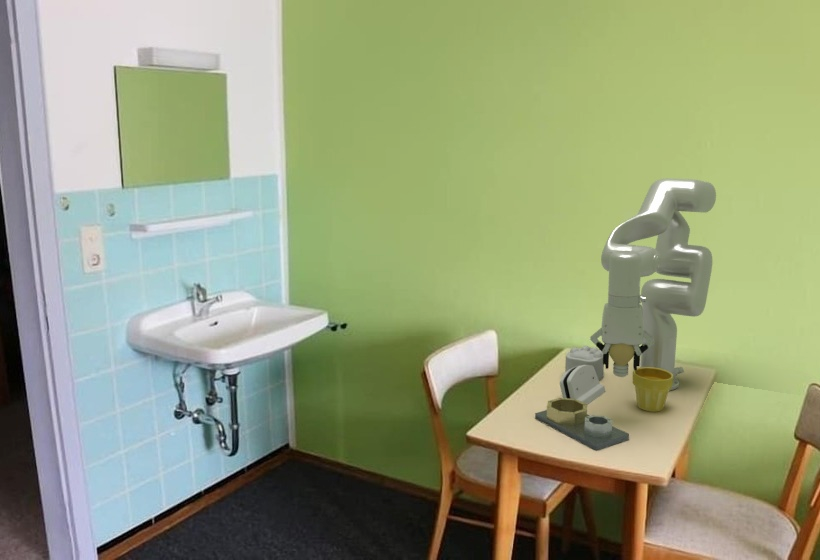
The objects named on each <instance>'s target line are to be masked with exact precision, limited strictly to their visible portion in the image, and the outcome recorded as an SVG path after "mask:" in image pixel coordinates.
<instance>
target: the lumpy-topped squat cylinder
mask: <svg viewBox="0 0 820 560" xmlns="http://www.w3.org/2000/svg"><path fill="white" fill-rule="evenodd" d="M564 365H565V367H564V368H565V369H564V370H565V372H564V374H565V373H566V372H567V371H568V370H569V369H571V368H573V367H576V366H581V365H592V366H593V367H594V369H595V372H596V375H597V377H598V380H599V382H600V381H602V380H603V378H604V373H605V372H604V370H605V364H603V353H602V351H601V350H600V349H599V348H598V347H597V346H596V347H595V346H593V347H590V346H587V345H584V346H582V347H579V348H578V347H576V346H573V347H571V348H570V350H569V351H568V352H567V353H566V354H565V364H564Z"/></svg>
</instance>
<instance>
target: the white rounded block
mask: <svg viewBox="0 0 820 560" xmlns="http://www.w3.org/2000/svg"><path fill="white" fill-rule="evenodd" d="M559 386H560V391H561V396H562V397H561V398H569V399H577V400H579V401H581V402H583V403H586V404H587V406H588V405H590V404H591V403H593V402H594V401H596V400H597V399H598V398H600V397H601V396H602V395H604V394H605V393H607V391H606V388H605V386H604V385H603V384H601V382H600V381H599V380H598V377H597V375H596V372H595V369H594V367H593V366H592V365H581V366H576V367H573V368H571V369H569V370H568V371H567V372H566V373H565V372H564V373H563V375H562V376H561V378H560V380H559Z"/></svg>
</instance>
